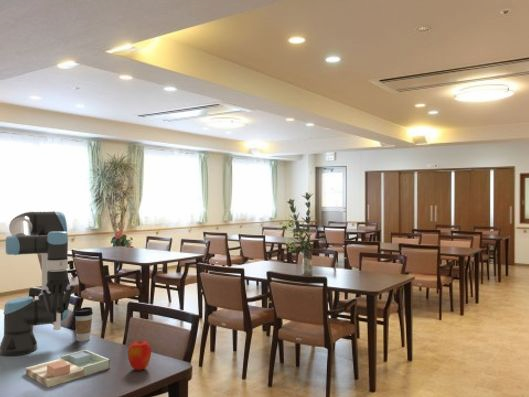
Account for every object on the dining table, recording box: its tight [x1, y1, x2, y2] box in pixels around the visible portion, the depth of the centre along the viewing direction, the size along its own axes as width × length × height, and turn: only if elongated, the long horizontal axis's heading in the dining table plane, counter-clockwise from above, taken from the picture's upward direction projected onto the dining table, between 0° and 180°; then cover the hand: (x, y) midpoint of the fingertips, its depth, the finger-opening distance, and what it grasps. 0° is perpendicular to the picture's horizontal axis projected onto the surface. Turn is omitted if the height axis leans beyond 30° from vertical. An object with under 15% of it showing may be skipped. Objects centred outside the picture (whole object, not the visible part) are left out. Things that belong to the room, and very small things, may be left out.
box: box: [60, 349, 111, 377], centre depth 188 cm, size 19×11×4 cm, turn 50°
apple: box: [127, 340, 152, 371], centre depth 185 cm, size 9×9×12 cm
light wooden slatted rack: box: [25, 358, 85, 388], centre depth 178 cm, size 19×14×2 cm
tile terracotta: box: [47, 361, 70, 377], centre depth 175 cm, size 6×6×3 cm
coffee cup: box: [74, 306, 94, 342], centre depth 224 cm, size 8×8×15 cm
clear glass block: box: [69, 352, 90, 366], centre depth 191 cm, size 6×6×3 cm
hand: (57, 329), depth 183 cm, fingers closed
